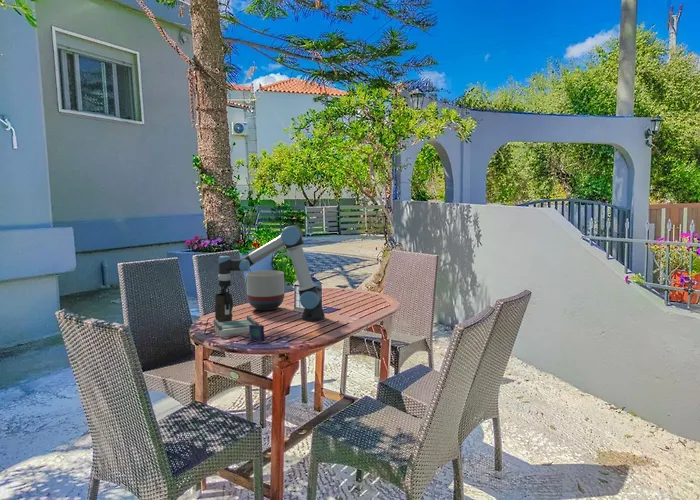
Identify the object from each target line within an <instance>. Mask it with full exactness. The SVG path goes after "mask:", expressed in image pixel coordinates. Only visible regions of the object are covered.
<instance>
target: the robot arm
mask: <svg viewBox="0 0 700 500" xmlns="http://www.w3.org/2000/svg"><path fill="white" fill-rule="evenodd" d="M303 236H304V232H303V229H302V228H301V227H300V226H299V225H296V224H292V225H288V226H286V227H284V228H283V230H282V231H281V233H280V235H279V236H277V237H275V238H274V239H272V240H270V241H269V242H267V243H265V244H264V245H262V246H260V247H258V248H257V249H255V250H253V251H252V252H250V253H249V254H247V255H245V256H243V257H241V258H240V259H232V258H231V256H229V255H220V256H219V257H218V275H217V277H218V286H219V287H220V291H219V292H220V293H221V294H223V296H224V295H225V303H224V305H225V315H228V314H229V304H230V297H229V294H230V289H229V288H228V287H230V286H232V285H231V284H232V282H231V279H232V278H231V277H232V274H231V273H232V272H249V271H250V267H252V266H253V265H255V264H256V263H259V262H260V261H261V260H263V259H266V258H267V257H269V256H270V255H272V254H275V253H276V252H278V251H279V250H281V249H282V248H284V247H285V250H286V251H288V252H289V256H290V257H291V258H290V259H291V262H292V265H293V268H294V271H295V275H296V278H297V281H298V286H299V288H298V294H299V302H300V305H301V306H302V308H304V309H303V312H302V316H301V319H302V320H303V321H307V322H318V321H323V320H325V317H326V316H325V312H324V309H323V295H322V294H323V293H322V291H323V289H322V285H321V284H315V283H313V279H312V276H311V272H310V268H309V265H308V262H307V259H306V256H305V253H304V248H303V246H304V245H305V244H304V240H303ZM220 293H219V294H220Z"/></svg>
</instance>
